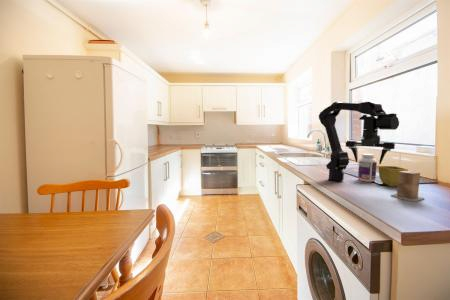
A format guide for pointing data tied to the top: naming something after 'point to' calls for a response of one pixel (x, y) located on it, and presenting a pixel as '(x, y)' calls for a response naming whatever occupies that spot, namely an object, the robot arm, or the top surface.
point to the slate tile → (408, 198)
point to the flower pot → (390, 174)
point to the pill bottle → (367, 168)
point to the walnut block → (408, 184)
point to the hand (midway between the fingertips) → (367, 163)
